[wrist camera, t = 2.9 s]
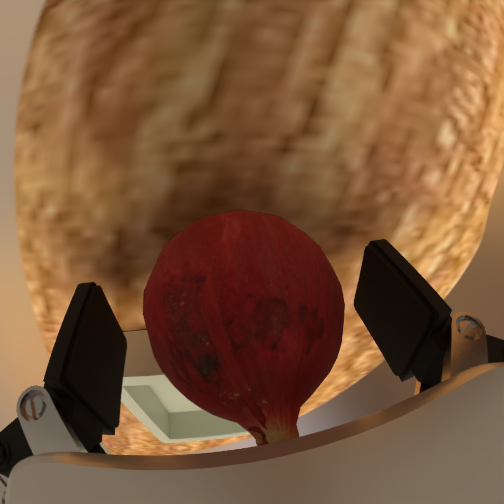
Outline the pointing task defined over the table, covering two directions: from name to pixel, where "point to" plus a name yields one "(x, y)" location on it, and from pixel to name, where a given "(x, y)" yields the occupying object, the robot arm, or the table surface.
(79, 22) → the table surface
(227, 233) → the onion
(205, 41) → the table surface
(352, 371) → the table surface
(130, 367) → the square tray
